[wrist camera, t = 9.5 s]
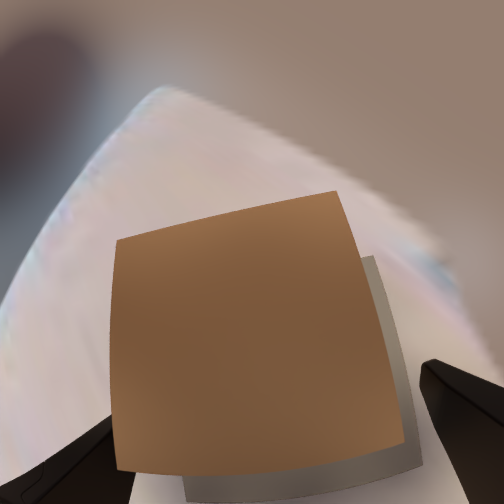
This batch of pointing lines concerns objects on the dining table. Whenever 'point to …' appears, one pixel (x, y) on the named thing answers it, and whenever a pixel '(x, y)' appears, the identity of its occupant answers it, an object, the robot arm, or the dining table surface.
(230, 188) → the dining table surface
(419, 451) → the foundation slab
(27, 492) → the robot arm
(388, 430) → the walnut pillar
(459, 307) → the dining table surface
